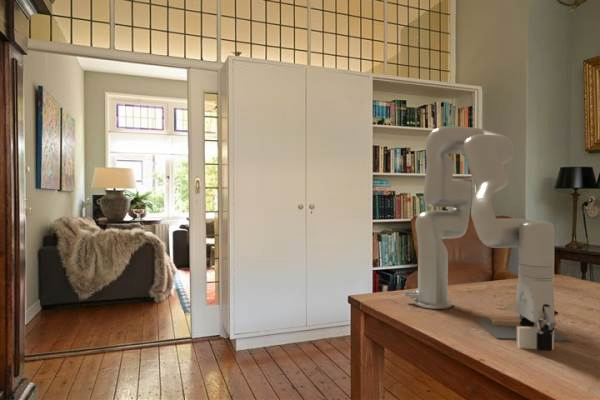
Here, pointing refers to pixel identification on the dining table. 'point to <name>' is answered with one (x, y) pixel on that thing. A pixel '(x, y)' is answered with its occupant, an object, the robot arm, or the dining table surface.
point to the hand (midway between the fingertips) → (535, 343)
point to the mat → (510, 329)
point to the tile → (528, 337)
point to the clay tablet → (513, 306)
